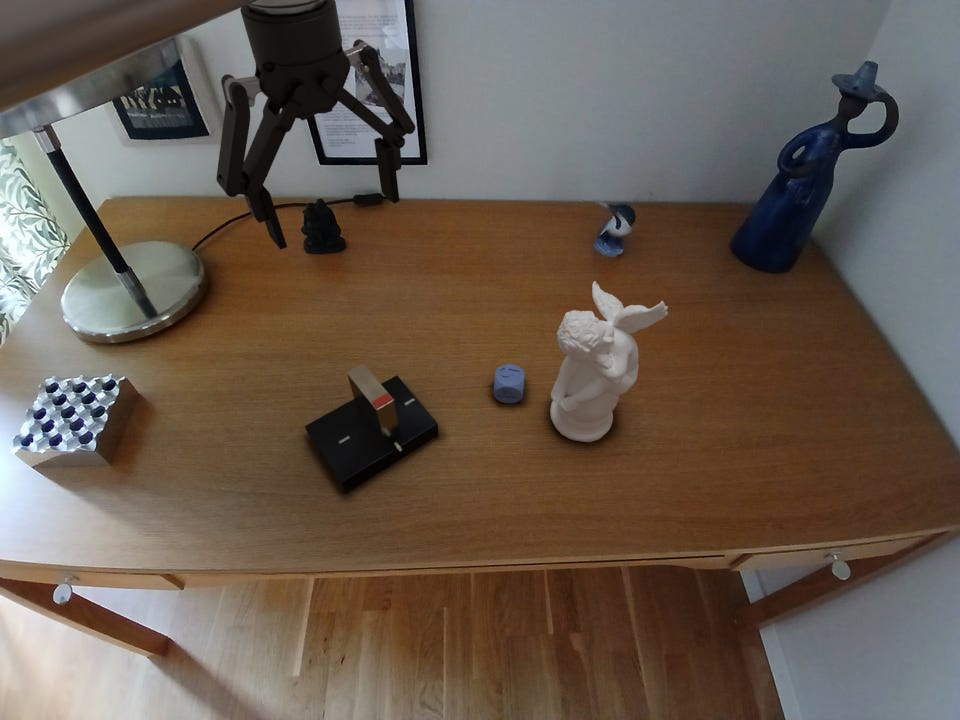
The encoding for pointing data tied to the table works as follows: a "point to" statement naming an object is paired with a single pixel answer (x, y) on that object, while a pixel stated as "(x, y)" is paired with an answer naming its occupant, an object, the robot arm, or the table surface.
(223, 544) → the table surface
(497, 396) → the decorative dice
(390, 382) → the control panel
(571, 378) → the cherub figurine
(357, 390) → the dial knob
